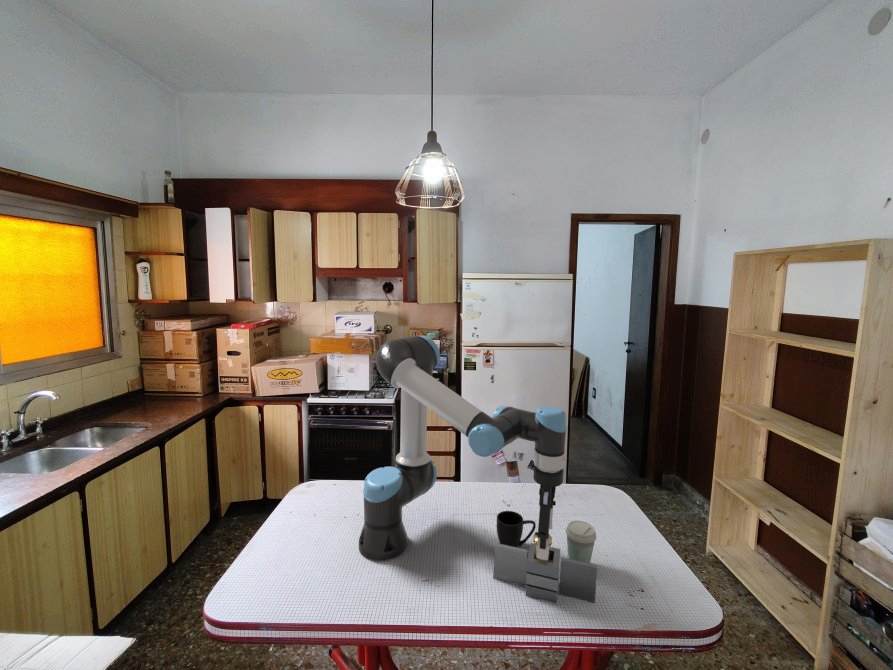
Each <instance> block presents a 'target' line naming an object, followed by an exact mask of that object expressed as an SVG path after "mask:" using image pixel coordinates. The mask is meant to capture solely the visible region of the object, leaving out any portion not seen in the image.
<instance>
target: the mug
mask: <svg viewBox="0 0 893 670" xmlns="http://www.w3.org/2000/svg"><path fill="white" fill-rule="evenodd" d="M527 524H530V525H532V527H531V530H530V531H529V533H528V534H527V535H526V536H525V538H523V539H522V535H523V533H524V532H523V530H524V525H527ZM536 526H537V525H536V522H535V521H534V520H532V519H531V520H530V519H528V520H526V519H525V520H524V518H523V516H522V515H521V514H520V513H519V512H516V511H512V510H503V511H501V512H498V513H497V515H496V534H497V538H498V542H499V543H498V544H503V545H508V546H512V547H517V548H519V547H521V546H523V545H525V543H526V542H527V541H528V540H529V538H531V536H532V535H533V533H535V530H536Z"/></svg>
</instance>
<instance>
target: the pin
mask: <svg viewBox="0 0 893 670" xmlns="http://www.w3.org/2000/svg"><path fill="white" fill-rule="evenodd" d="M532 537H533V540H532V541H533V543H534V544H536V555H535V559H537V560H541V561H546V562H549V549H548V560H544V559H539V558H537V543H538V537H537V535H535V533H534V534H533V536H532ZM552 543H553V537H552V535H550V534H549V547H552Z"/></svg>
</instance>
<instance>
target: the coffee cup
mask: <svg viewBox="0 0 893 670" xmlns="http://www.w3.org/2000/svg"><path fill="white" fill-rule="evenodd" d="M565 534H566V542H567V543H566V544H567V559H571V560H576V561H581V562H585V563H590V564H591V561H592V557H593V552H594V546H595V541H596V540H597V533H596V529H595V527H594V526H593V525H592V524H591V523H589V522H587V521H584V520H576V519H575V520H572V521H570V522H569V523H568V524H567V526H566V528H565Z"/></svg>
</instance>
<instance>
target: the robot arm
mask: <svg viewBox="0 0 893 670" xmlns="http://www.w3.org/2000/svg"><path fill="white" fill-rule="evenodd" d="M440 360H441V352H440V349H439V346H438V344H437V343H436V342H435V341H434V340H433V339H432V338H431V337H430V336H426V335H413V336H407V337H406V336H405V337H402V338H393V339H391V340H388V341H386V342H384V343H383V344H382V345H381V346H380V347H379V349H378V350H377V353H376V355H375V364H376V368H377V371H378V373H379V374H380V376H381V377H382V379H384V380H385V381H386V382H387V383H388V384H389V385H390V386H392V387H393V388H395V389H400V388H401V389H400V439H399V440H400V443H399V444H400V446H399V447H400V449H399V452H398V453H397V455H396V456H395V466H384V467H382V466H381V467H378V468H375V469H373V470H372V471H370V472H369V473H368V474H367V476H365V478H364V482H363V483H364V484H363V490H362V491H363V492H362V493H363V511H364V512H363V519H364V520H363V521H364V522H363V526H362V529H361V532H360V535H359V537H358V550H359V553H360V554H361V555H362V556H363V557H364V558H366V559H368V560H370V561H376V562H384V561H390V560H393V559H396V558H397V557H400V556H401V555H402V554H403V553H404V552H405V551H406V550H407V548H408V544H409V543H408V537H409V536H408V534H407V531H406V528H405V526H404V522H403V507H405V506H406V505H407V504H409V503H411V502H413V501H414V500H416V499H418V498H419V497H421V496H423V495H425V494H426V493H428V492H429V490H431V489H432V488H433V487H434V486H435V484H436V481H437V477H438V476H437V475H438V471H437V467H436V466H435V464H434V463H435V462H434V461H433V460H432V458H431V455H430V454H429V453H428V452H427V425H428V409H429V410H430V411H432V412H433V413H435V414H436V415H437V416H438V417H440V418H441V419H442V420H444V421H445V422H446V423H448V424H449V425H450V426H452V427H453V428H454V429H456V430H457V431H459V432H460V433H462V435H464V436H465V437H467V440H468V445H469V447H470V449H471V450H472V452H473V453H474V454H475V455H476V456H479V457H482V458H486V457H490V456H492V455H494V454H497V453H499V452H500V451H501V450H502V449H504V448H505V447H506V446H508V445H509V444H512V443H513V442H514V441H516V440H518V439H521V440H525V441H529V442H534V453H533V454H534V456H533V475H532V477H533V480H534V481H535V482H536V484H538V485H540V486H539V491H538V495H539V502H538V505H539V513H538V514H539V516H538V527H537V531H534V534H535V535H537V537H538V543H537V558H539V559H544V560H548V549H549V535H550V530H552V529H553V518H554V517H553V516H554V506H555V507H556V504H557V503H556V500H555V498H556V489H557V488H556V487H559V486H561V485H562V484H563V483H564V472H565V471H564V466H565V461H567V459H568V458H567V456H565V452H566V451H565V449H566V437H567V436H566V435H567V434H566V433H567V430H568V429H567V414H566V412H565V410H563V409H562V408H560V407H557V406H548V405H543V406H539V407H538V408H537V409H536V412H535V411H534V412H532V411H530V410H524V409H522V408H521V409H520V408H516V407H514V406H506V405H499V406H497V407H496V409H495V411H493V413H492V416H490V415H488V413H485V412H484V411H482V410H481V409H480V408H479V407H477V406H476V405H474V404H473V403H472V402H470V401H468V400H467V399H465V398H464V397H463V396H461V395H459V393H457V392H455V391H454V390H452V389H450V388H449V387H448V386H446V385H445V384H443V383H442V382H441V381H440V380H438V379H436V377H433V373H434V371H433V370H434V369H435V368H437V367H438V365H439V363H440Z"/></svg>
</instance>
